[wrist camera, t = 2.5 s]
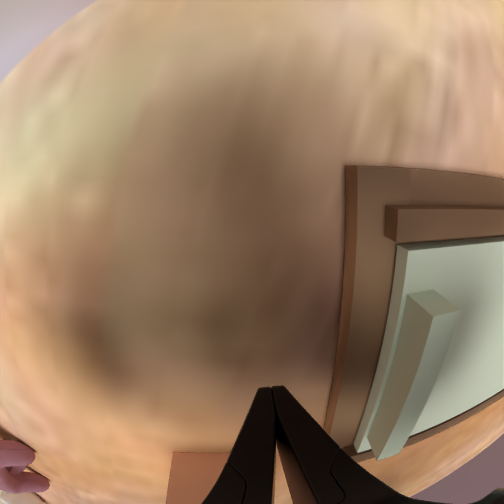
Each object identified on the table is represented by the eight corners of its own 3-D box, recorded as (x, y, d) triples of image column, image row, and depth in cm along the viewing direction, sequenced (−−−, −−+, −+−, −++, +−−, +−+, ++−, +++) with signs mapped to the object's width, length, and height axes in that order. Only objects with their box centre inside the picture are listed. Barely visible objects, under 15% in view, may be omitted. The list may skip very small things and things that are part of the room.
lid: (504, 379, 12) (520, 396, 10) (353, 443, 12) (365, 475, 10) (552, 231, 9) (577, 242, 7) (397, 244, 8) (438, 269, 6)
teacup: (20, 480, 18) (10, 503, 13) (57, 506, 20) (49, 529, 15) (-2, 472, 19) (-11, 492, 14) (30, 497, 21) (23, 516, 16)
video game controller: (11, 417, 15) (-40, 441, 8) (37, 454, 13) (-15, 483, 7) (29, 459, 17) (-8, 479, 11) (54, 487, 16) (16, 511, 9)
